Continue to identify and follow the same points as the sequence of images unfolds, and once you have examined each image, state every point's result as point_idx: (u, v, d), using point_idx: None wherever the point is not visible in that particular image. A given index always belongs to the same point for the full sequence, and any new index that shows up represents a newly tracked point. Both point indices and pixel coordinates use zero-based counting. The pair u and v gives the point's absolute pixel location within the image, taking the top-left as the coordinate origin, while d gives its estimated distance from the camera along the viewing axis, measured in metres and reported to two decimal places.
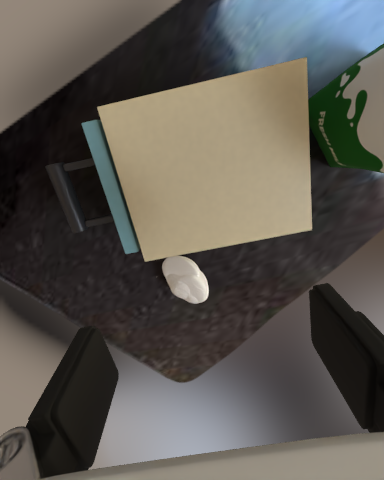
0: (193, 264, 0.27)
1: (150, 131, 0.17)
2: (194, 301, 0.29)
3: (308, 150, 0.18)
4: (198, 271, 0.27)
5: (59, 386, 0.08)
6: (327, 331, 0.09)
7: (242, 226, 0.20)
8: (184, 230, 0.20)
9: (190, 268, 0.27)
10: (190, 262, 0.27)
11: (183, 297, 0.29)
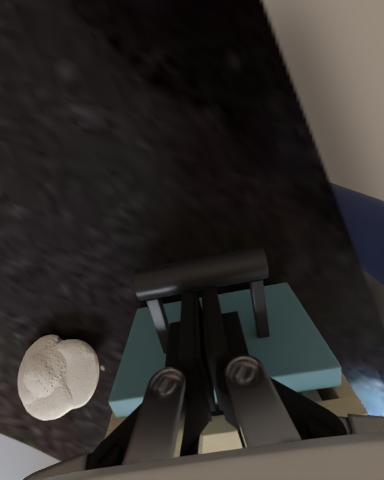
0: (90, 397, 0.18)
1: None
2: (23, 399, 0.18)
3: None
4: (79, 406, 0.18)
5: (192, 335, 0.09)
6: None
7: None
8: None
9: (83, 395, 0.18)
10: (92, 393, 0.18)
11: (26, 383, 0.18)
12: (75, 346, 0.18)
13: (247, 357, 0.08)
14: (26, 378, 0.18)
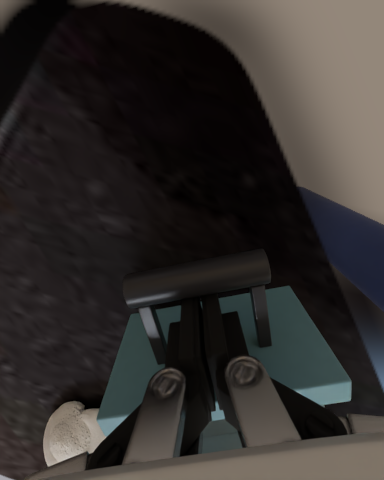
0: None
1: None
2: None
3: None
4: None
5: (192, 335, 0.09)
6: None
7: None
8: None
9: None
10: None
11: (52, 451, 0.19)
12: None
13: (247, 357, 0.08)
14: (53, 448, 0.19)
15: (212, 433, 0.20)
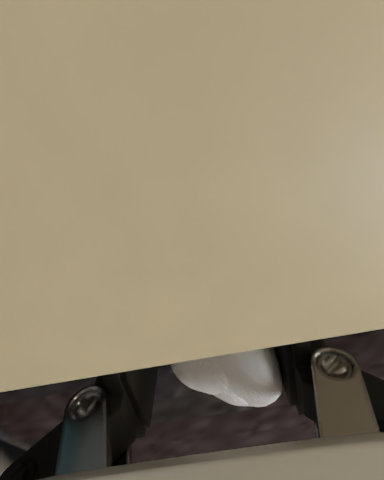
0: None
1: None
2: (237, 404, 0.10)
3: None
4: None
5: None
6: None
7: None
8: (364, 34, 0.01)
9: None
10: None
11: (206, 392, 0.11)
12: None
13: (333, 349, 0.08)
14: None
15: None
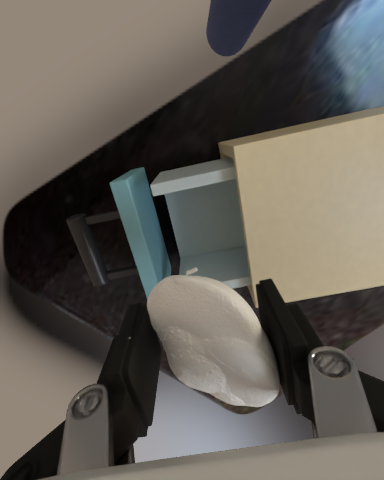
0: (244, 308, 0.09)
1: (288, 172, 0.15)
2: (234, 404, 0.10)
3: None
4: (259, 330, 0.09)
5: (124, 350, 0.09)
6: (266, 321, 0.10)
7: (370, 271, 0.18)
8: (305, 275, 0.18)
9: (233, 318, 0.09)
10: (235, 301, 0.09)
11: None
12: (151, 305, 0.10)
13: (330, 348, 0.08)
14: None
15: None
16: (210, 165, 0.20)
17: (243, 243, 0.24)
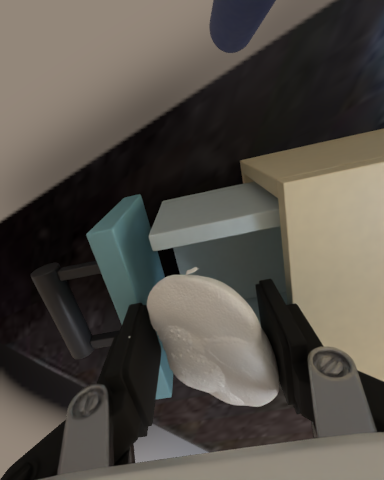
0: (244, 307, 0.09)
1: (368, 221, 0.10)
2: (233, 403, 0.10)
3: None
4: (259, 330, 0.09)
5: (124, 350, 0.09)
6: (266, 321, 0.10)
7: None
8: (377, 361, 0.12)
9: (233, 317, 0.09)
10: (235, 301, 0.09)
11: (203, 390, 0.11)
12: (150, 304, 0.10)
13: (329, 348, 0.08)
14: (193, 387, 0.11)
15: None
16: (234, 197, 0.14)
17: None
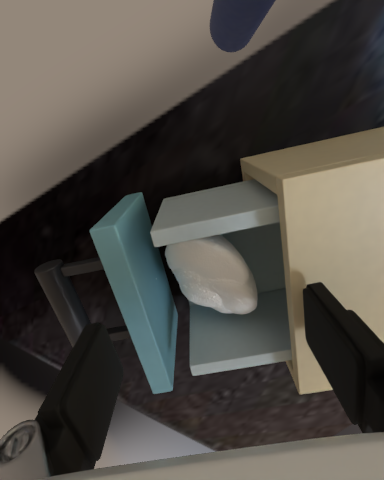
0: (239, 261, 0.12)
1: (365, 217, 0.10)
2: (225, 312, 0.16)
3: None
4: (247, 274, 0.13)
5: (67, 381, 0.08)
6: (319, 329, 0.09)
7: None
8: None
9: (230, 267, 0.13)
10: (233, 257, 0.12)
11: (205, 305, 0.15)
12: (168, 254, 0.14)
13: None
14: (198, 304, 0.15)
15: None
16: (234, 195, 0.14)
17: (271, 287, 0.19)
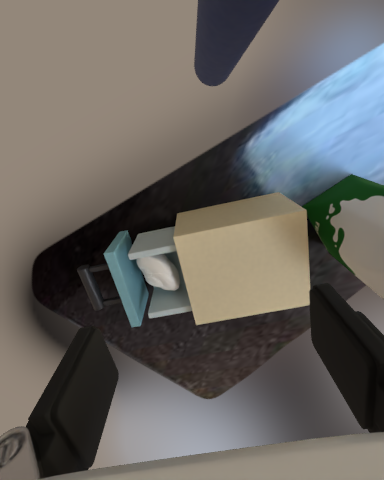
0: (166, 265, 0.29)
1: (206, 249, 0.27)
2: None
3: (308, 259, 0.28)
4: (170, 271, 0.30)
5: (59, 386, 0.08)
6: (327, 331, 0.09)
7: (263, 303, 0.30)
8: (224, 305, 0.30)
9: (162, 268, 0.30)
10: (163, 264, 0.29)
11: (156, 286, 0.33)
12: (137, 262, 0.31)
13: None
14: (153, 285, 0.32)
15: None
16: (167, 235, 0.31)
17: None
